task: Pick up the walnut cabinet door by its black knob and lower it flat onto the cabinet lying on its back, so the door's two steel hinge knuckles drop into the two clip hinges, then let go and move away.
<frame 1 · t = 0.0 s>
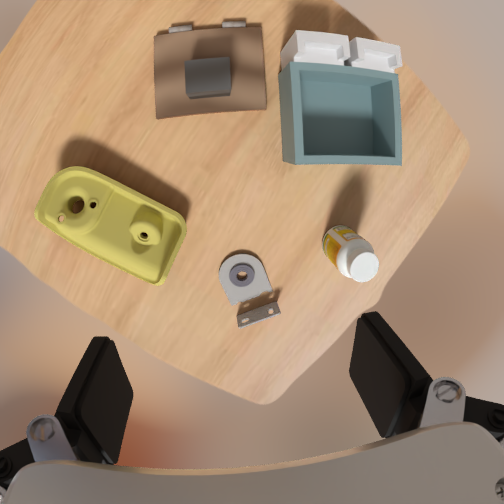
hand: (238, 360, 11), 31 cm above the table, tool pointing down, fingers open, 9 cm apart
supplement bottle: (337, 241, 44), on the table
door: (208, 70, 34), on the table
plastic component: (118, 218, 39), on the table
cabinet: (330, 117, 37), on the table
bracket: (245, 286, 45), on the table
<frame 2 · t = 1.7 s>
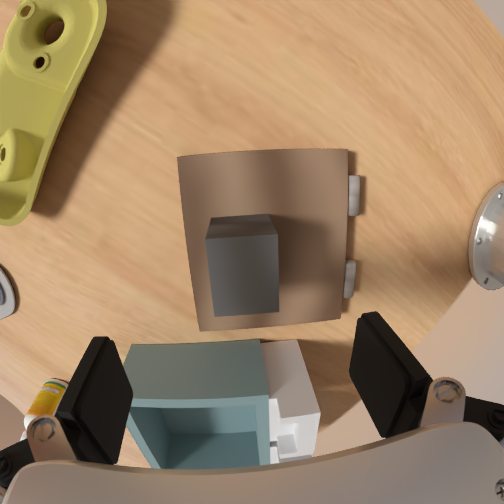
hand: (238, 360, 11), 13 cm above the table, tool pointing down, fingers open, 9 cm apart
supplement bottle: (64, 391, 28), on the table
door: (267, 241, 23), on the table
plastic component: (37, 100, 18), on the table
cabinet: (204, 394, 28), on the table
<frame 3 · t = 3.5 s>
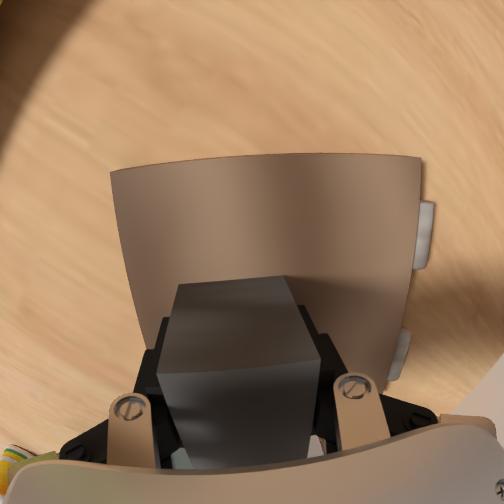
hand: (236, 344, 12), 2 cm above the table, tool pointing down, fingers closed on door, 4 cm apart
supplement bottle: (28, 457, 18), on the table
door: (278, 313, 14), on the table, touching gripper
cabinet: (192, 480, 19), on the table
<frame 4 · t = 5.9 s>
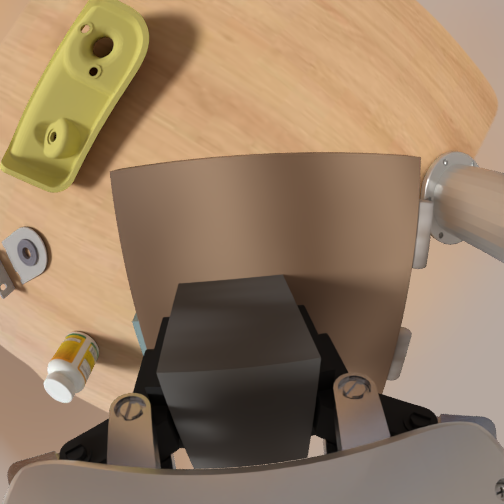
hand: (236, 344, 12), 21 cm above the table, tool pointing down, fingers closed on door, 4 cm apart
supplement bottle: (83, 344, 36), on the table
door: (278, 313, 14), point 19 cm above the table, touching gripper
plastic component: (82, 97, 26), on the table
bracket: (20, 254, 31), on the table
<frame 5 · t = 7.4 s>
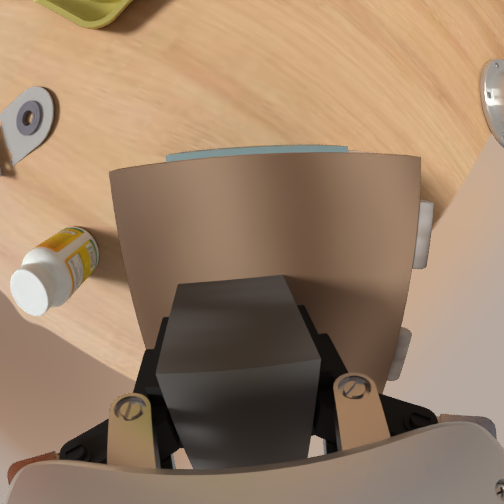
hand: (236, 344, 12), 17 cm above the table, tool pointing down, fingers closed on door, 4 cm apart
supplement bottle: (78, 249, 27), on the table
door: (278, 313, 14), point 15 cm above the table, touching gripper
cabinet: (254, 223, 27), on the table
bracket: (18, 128, 22), on the table
when the fingers open (10 cm above the table, at t = 8.7 s): door drops 1 cm, resting on cabinet.
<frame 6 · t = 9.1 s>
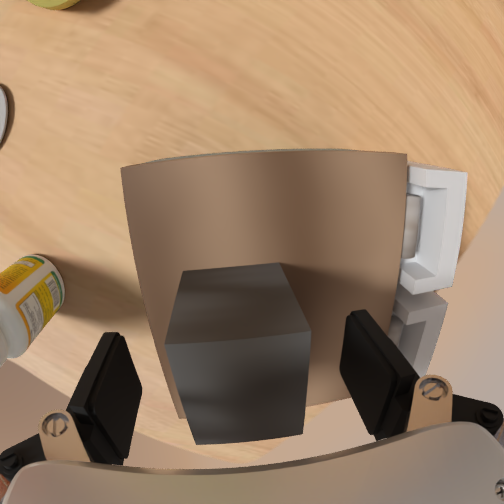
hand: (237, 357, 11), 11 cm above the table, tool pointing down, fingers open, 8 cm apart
supplement bottle: (41, 281, 20), on the table
door: (275, 300, 15), point 7 cm above the table, touching cabinet
cabinet: (257, 252, 21), on the table
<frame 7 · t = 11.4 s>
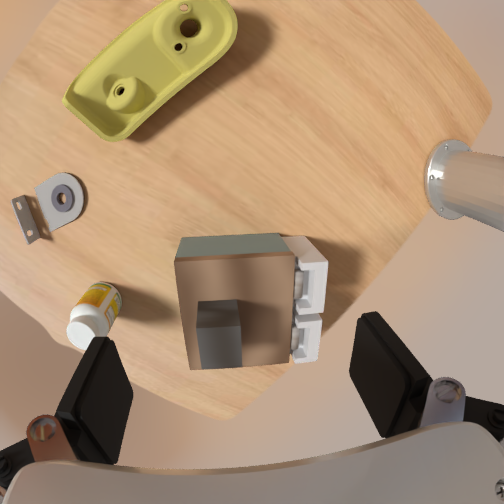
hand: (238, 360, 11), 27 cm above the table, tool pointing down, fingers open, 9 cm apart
supplement bottle: (105, 297, 38), on the table
door: (236, 313, 33), point 7 cm above the table, touching cabinet
plastic component: (154, 65, 29), on the table
cabinet: (232, 286, 40), on the table
bracket: (52, 202, 33), on the table
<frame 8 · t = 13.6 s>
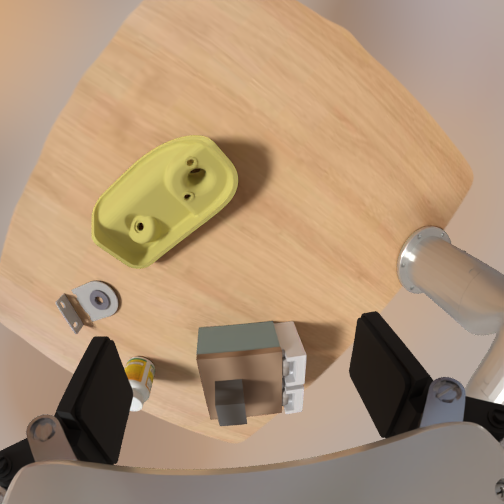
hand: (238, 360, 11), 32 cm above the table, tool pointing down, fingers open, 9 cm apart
supplement bottle: (141, 365, 49), on the table
door: (242, 384, 44), point 7 cm above the table, touching cabinet
plastic component: (166, 197, 40), on the table
cabinet: (239, 357, 50), on the table
bracket: (90, 299, 44), on the table
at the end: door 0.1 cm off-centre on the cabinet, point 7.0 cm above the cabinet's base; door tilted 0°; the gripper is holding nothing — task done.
